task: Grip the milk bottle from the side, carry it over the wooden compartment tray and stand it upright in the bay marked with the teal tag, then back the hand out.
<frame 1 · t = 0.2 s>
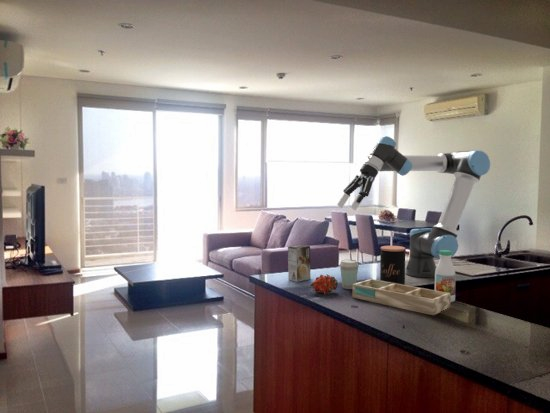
hand: (345, 207, 208), 36 cm above the counter, tool tilted 35°, fingers open, 13 cm apart
wooden compartment tray: (399, 302, 187), on the counter
coffee jar: (392, 288, 211), on the counter
coffee box: (299, 279, 228), on the counter
coffee cup: (349, 288, 211), on the counter
milk bottle: (444, 300, 190), on the counter
dragon fruit: (324, 293, 202), on the counter
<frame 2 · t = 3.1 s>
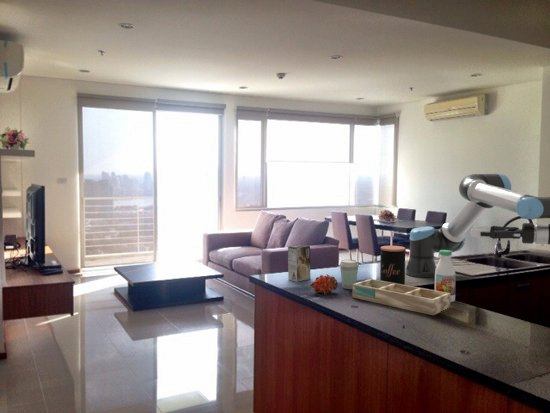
hand: (471, 231, 183), 28 cm above the counter, tool horizontal, fingers open, 13 cm apart
nothing on the counter moved.
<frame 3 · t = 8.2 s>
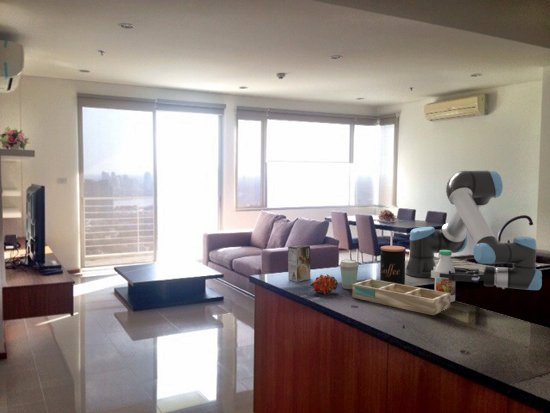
hand: (432, 271, 191), 11 cm above the counter, tool horizontal, fingers closed on milk bottle, 7 cm apart
milk bottle: (444, 300, 190), on the counter, touching gripper
everything else where it was.
when the fingers open (14 cm above the counter, at t = 14.1 s): milk bottle drops 1 cm, resting on wooden compartment tray.
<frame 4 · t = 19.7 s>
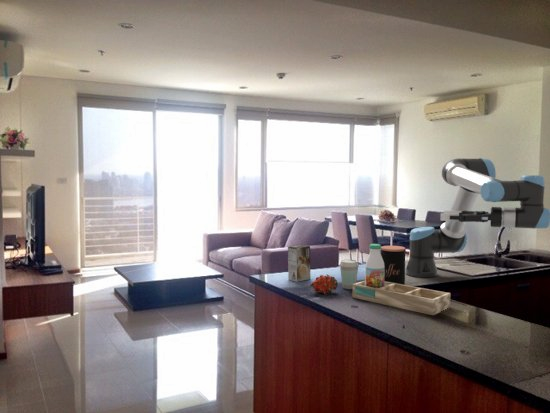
hand: (442, 215, 187), 34 cm above the counter, tool horizontal, fingers open, 13 cm apart
milk bottle: (374, 293, 195), point 2 cm above the counter, touching wooden compartment tray
everything else where it was.
at the end: milk bottle inside the target area on the wooden compartment tray (0.1 cm from its centre), point 1.6 cm above the wooden compartment tray's base; milk bottle tilted 0°; the gripper is holding nothing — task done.
